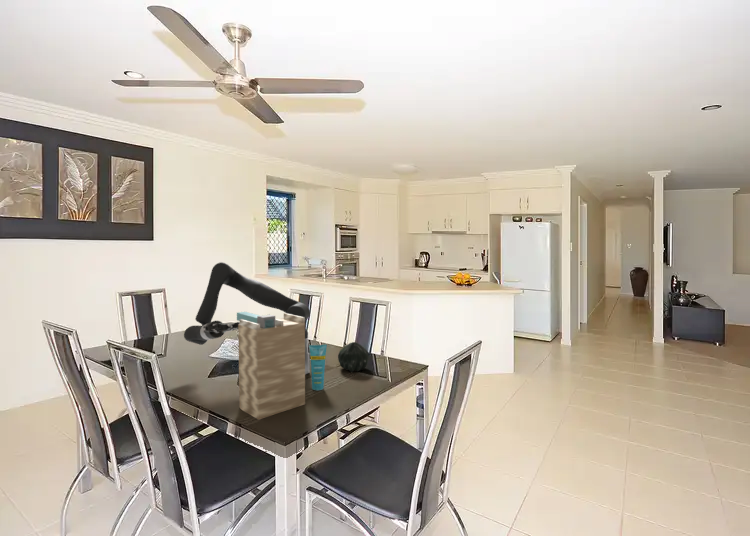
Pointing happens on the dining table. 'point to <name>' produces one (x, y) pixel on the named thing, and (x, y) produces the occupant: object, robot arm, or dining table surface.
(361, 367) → the squash
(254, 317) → the bar
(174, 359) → the dining table surface
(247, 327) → the notched wooden tower
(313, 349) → the tube
